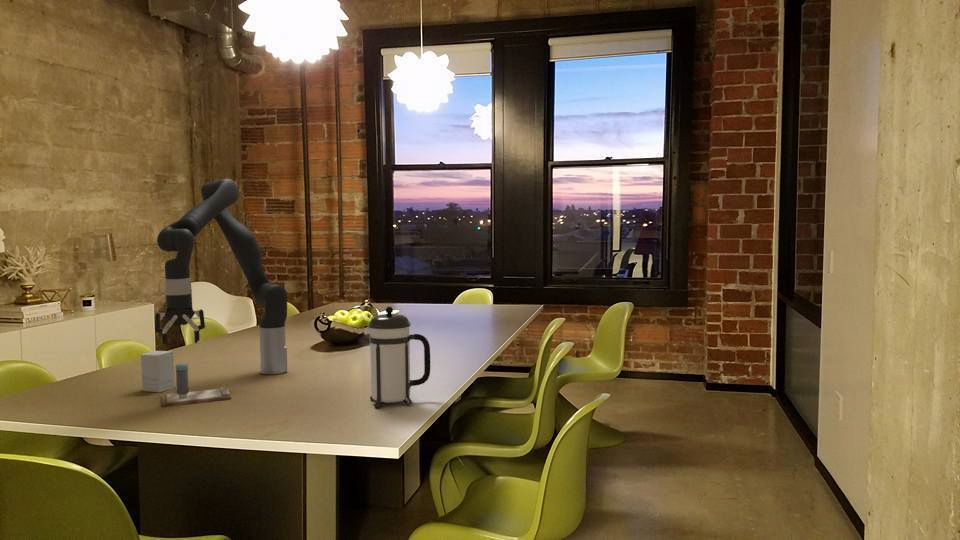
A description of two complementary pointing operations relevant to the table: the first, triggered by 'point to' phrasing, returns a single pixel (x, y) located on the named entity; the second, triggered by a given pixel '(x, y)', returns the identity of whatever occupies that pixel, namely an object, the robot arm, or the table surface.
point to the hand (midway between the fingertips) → (181, 344)
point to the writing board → (196, 397)
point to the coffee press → (393, 358)
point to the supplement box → (157, 371)
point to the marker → (182, 380)
